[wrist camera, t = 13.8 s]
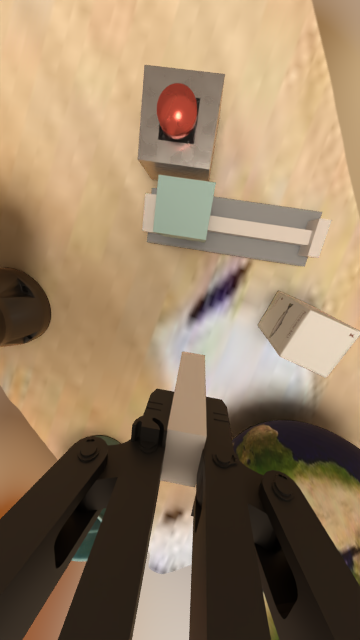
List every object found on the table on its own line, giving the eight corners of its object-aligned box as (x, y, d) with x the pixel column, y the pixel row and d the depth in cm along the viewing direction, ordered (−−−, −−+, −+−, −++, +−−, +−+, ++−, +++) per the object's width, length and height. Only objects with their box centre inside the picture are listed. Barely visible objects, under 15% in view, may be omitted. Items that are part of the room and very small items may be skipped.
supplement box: (277, 289, 38) (312, 307, 26) (314, 307, 38) (366, 333, 26) (255, 325, 40) (278, 357, 28) (291, 341, 41) (328, 379, 29)
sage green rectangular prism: (168, 237, 35) (152, 231, 24) (172, 199, 34) (158, 174, 23) (204, 243, 35) (205, 240, 24) (211, 204, 33) (215, 182, 22)
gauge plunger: (165, 157, 31) (154, 131, 24) (169, 119, 30) (159, 80, 23) (195, 161, 31) (193, 136, 24) (200, 123, 30) (200, 85, 23)
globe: (178, 436, 50) (146, 679, 22) (286, 358, 42) (467, 590, 13) (261, 509, 55) (326, 788, 26) (375, 452, 46) (651, 774, 18)
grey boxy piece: (151, 179, 35) (137, 159, 27) (158, 108, 32) (144, 64, 24) (207, 187, 34) (209, 169, 27) (219, 116, 31) (224, 74, 24)
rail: (149, 242, 38) (141, 241, 33) (154, 190, 35) (146, 180, 30) (300, 265, 36) (315, 268, 32) (317, 213, 34) (335, 207, 29)
